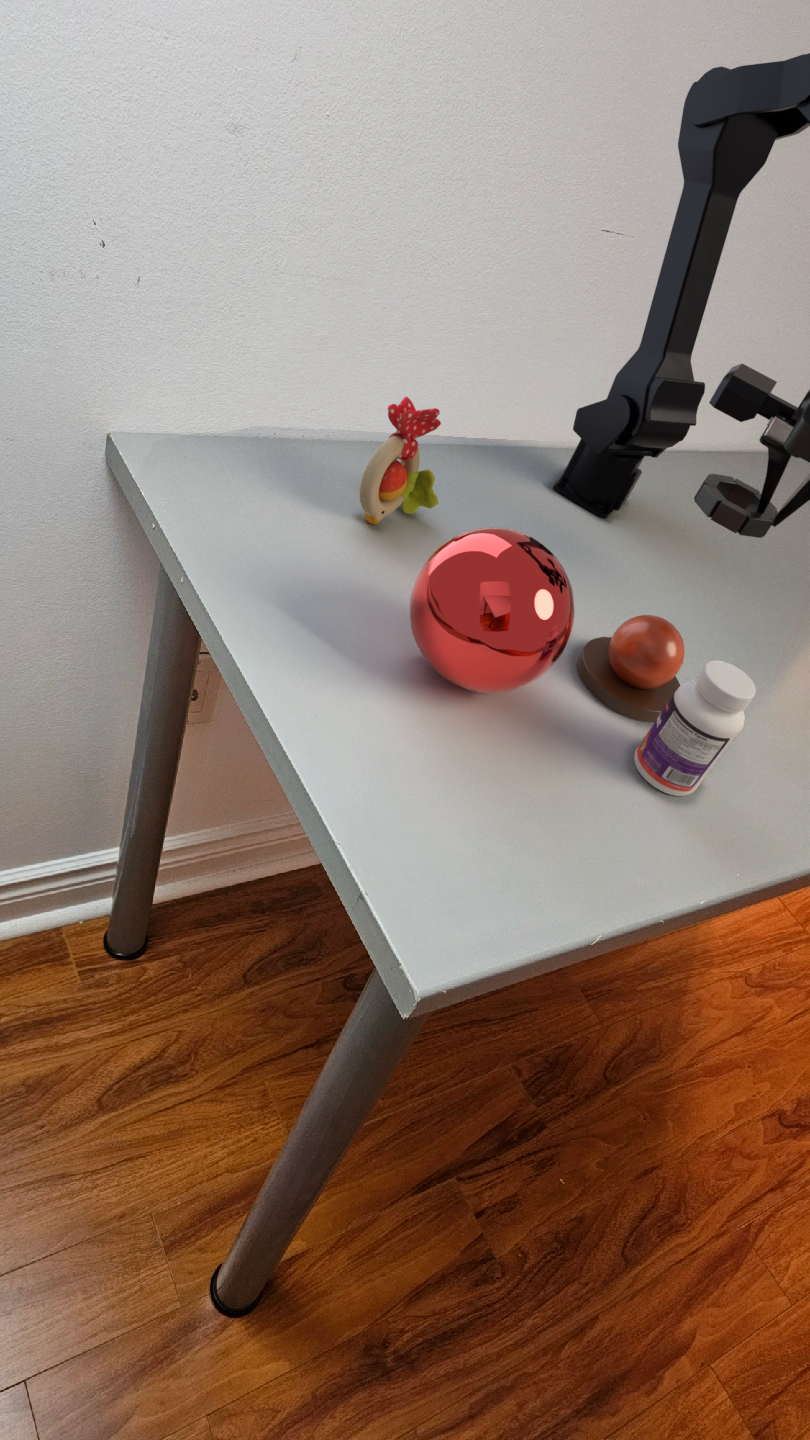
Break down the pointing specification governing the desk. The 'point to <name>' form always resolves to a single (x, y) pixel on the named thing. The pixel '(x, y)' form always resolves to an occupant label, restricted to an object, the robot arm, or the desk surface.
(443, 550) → the ball
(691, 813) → the desk surface
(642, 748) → the pill bottle
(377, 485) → the bird rattle
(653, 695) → the ball stand
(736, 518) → the black ring
